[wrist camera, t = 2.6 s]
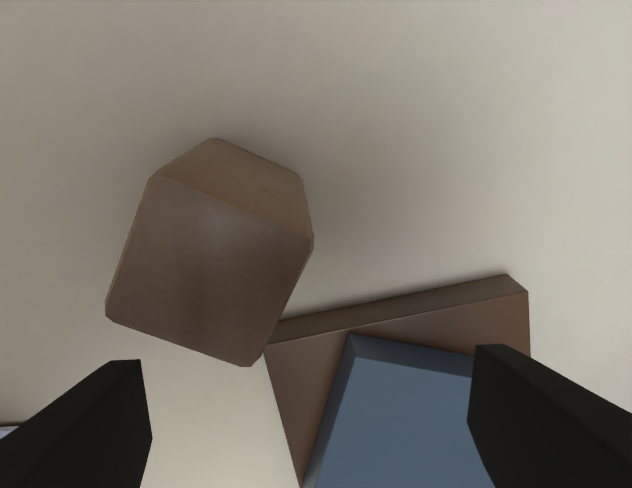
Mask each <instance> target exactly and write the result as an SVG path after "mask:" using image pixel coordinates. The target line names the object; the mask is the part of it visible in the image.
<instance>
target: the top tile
mask: <svg viewBox="0 0 632 488" xmlns="http://www.w3.org/2000/svg"><path fill="white" fill-rule="evenodd" d="M473 364H474V356H470V355H465V354H460V353H454V352H449V351H444V350H438V349H433V348H428V347H423V346H417V345H412V344H407V343H402V342H396V341H391V340H386V339H380V338H375V337H370V336H365V335H359V334H354V333H349V334H348V337H347V340H346V343H345V347H344V350H343V353H342V356H341V360H340V363H339V366H338V370H337V373H336V376H335V379H334V383H333V386H332V389H331V393H330V396H329V399H328V402H327V406H326V409H325V412H324V416H323V419H322V422H321V425H320V429H319V432H318V435H317V438H316V442H315V445H314V448H313V452H312V455H311V458H310V461H309V465H308V468H307V471H306V475H305V478H304V481H303V488H495V486H494V484H493V483H492V481H491V479H490V477H489V475H488V473H487V471H486V469H485V467H484V465H483V463H482V461H481V458H480V456H479V453H478V451H477V448H476V446H475V443H474V441H473V438H472V435H471V433H470V430H469V427H468V425H467V422H466V421H467V412H468V404H469V396H470V388H471V380H472V372H473Z"/></svg>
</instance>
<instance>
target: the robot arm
mask: <svg viewBox="0 0 632 488" xmlns="http://www.w3.org/2000/svg"><path fill="white" fill-rule="evenodd" d="M466 422H467V425H468V427H469V430H470V433H471V435H472V438H473V441H474V443H475V446H476V448H477V451H478V453H479V456H480V458H481V461H482V463H483V465H484V467H485V469H486V471H487V473H488V475H489V477H490V479H491V481H492V483H493V484H494V486H495V488H632V413H630V412H628V411H626V410H624V409H622V408H620V407H618V406H617V405H615V404H613V403H611V402H609V401H607V400H605V399H603V398H602V397H600V396H598V395H596V394H594V393H593V392H591V391H589V390H587V389H585V388H584V387H582V386H580V385H578V384H576V383H575V382H573V381H571V380H569V379H568V378H566V377H564V376H562V375H561V374H559V373H557V372H555V371H554V370H552V369H550V368H548V367H547V366H545V365H543V364H541V363H539V362H538V361H536V360H534V359H532V358H531V357H529V356H527V355H525V354H523V353H521V352H519V351H518V350H516V349H514V348H512V347H509V346H507V345H505V344H481V345H476V348H475V356H474V364H473V372H472V380H471V388H470V396H469V404H468V412H467V421H466ZM152 439H153V438H152V432H151V426H150V419H149V413H148V406H147V400H146V393H145V387H144V381H143V374H142V368H141V361H140V359H136V360H113V361H109V362H108V363H106V364H104V365H103V366H101V367H100V368H98V369H97V370H96V371H94V372H93V373H91V374H90V375H89V376H87V377H86V378H84V379H83V380H82V381H80V382H79V383H78V384H76V385H75V386H74V387H72V388H71V389H70V390H68V391H67V392H66V393H64V394H63V395H62V396H60V397H59V398H57V399H56V400H55V401H53V402H52V403H51V404H49V405H48V406H46V407H45V408H44V409H42V410H41V411H40V412H38V413H37V414H36V415H34V416H33V417H31V418H30V419H29V420H27V421H26V422H24V423H23V424H22V425H20V426H9V427H0V488H140V485H141V481H142V478H143V474H144V470H145V467H146V463H147V459H148V455H149V451H150V447H151V443H152Z"/></svg>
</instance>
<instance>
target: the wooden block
mask: <svg viewBox="0 0 632 488" xmlns="http://www.w3.org/2000/svg"><path fill="white" fill-rule="evenodd" d="M313 246H314V234H313V229H312V224H311V220H310V215H309V210H308V205H307V200H306V195H305V190H304V185H303V180H302V179H301V178H300V177H299V176H298V175H297V174H295V173H293V172H291V171H289V170H287V169H284V168H282V167H280V166H278V165H276V164H273V163H271V162H269V161H267V160H264V159H262V158H260V157H258V156H256V155H253V154H251V153H249V152H247V151H245V150H242V149H240V148H238V147H236V146H233V145H231V144H229V143H227V142H225V141H222V140H220V139H212V138H210V139H208V140H207V141H205V142H203V143H202V144H200V145H198V146H197V147H195V148H193V149H192V150H190V151H188V152H187V153H185V154H183V155H182V156H180V157H178V158H177V159H175V160H173V161H172V162H170V163H168V164H167V165H165V166H164V167H162V168H160V169H159V170H157V171H156V172H155V173H154V174H153V175H152V176H151V177H150V178H149V179H148V182H147V185H146V188H145V190H144V193H143V196H142V199H141V202H140V204H139V207H138V210H137V213H136V216H135V218H134V221H133V224H132V227H131V230H130V232H129V235H128V238H127V241H126V244H125V247H124V249H123V252H122V255H121V258H120V261H119V263H118V266H117V269H116V272H115V275H114V277H113V280H112V283H111V286H110V289H109V291H108V294H107V297H106V300H105V312H106V317H108V318H109V319H110V320H111V321H113V322H114V323H117V324H120V325H123V326H126V327H129V328H132V329H134V330H137V331H140V332H143V333H146V334H149V335H151V336H154V337H157V338H160V339H163V340H166V341H169V342H171V343H174V344H177V345H180V346H183V347H186V348H189V349H191V350H194V351H197V352H200V353H203V354H206V355H209V356H211V357H214V358H217V359H220V360H223V361H226V362H228V363H231V364H234V365H237V366H240V367H251V366H252V365H253V364H254V363H255V362H256V361H257V360H258V359H259V358H260V357H261V355H262V353H263V351H264V349H265V347H266V345H267V343H268V341H269V339H270V337H271V335H272V333H273V331H274V328H275V326H276V324H277V322H278V320H279V318H280V316H281V314H282V312H283V310H284V308H285V306H286V304H287V302H288V300H289V298H290V296H291V294H292V292H293V289H294V287H295V285H296V283H297V281H298V279H299V277H300V275H301V273H302V271H303V269H304V267H305V265H306V263H307V261H308V259H309V257H310V255H311V253H312V250H313Z"/></svg>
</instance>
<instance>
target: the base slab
mask: <svg viewBox="0 0 632 488" xmlns="http://www.w3.org/2000/svg"><path fill="white" fill-rule="evenodd" d="M349 333H354V334H359V335H365V336H370V337H375V338H380V339H386V340H391V341H396V342H402V343H407V344H412V345H417V346H423V347H428V348H433V349H438V350H444V351H449V352H454V353H460V354H465V355H470V356H475V348H476V345H481V344H505V345H507V346H509V347H512V348H514V349H516V350H518V351H519V352H521V353H523V354H525V355H527V356H529V357H531V353H530V327H529V301H528V291H527V290H526V289H525V288H524V287H522V286H521V285H520V284H519V283H518V282H516V281H515V280H514V279H513V278H511V277H510V276H509V275H502V276H497V277H492V278H487V279H482V280H477V281H473V282H468V283H463V284H458V285H453V286H448V287H443V288H439V289H434V290H429V291H424V292H419V293H414V294H409V295H404V296H400V297H395V298H390V299H385V300H380V301H375V302H370V303H365V304H361V305H356V306H351V307H346V308H341V309H336V310H331V311H326V312H322V313H317V314H312V315H307V316H302V317H297V318H292V319H288V320H283V321H278V322H277V324H276V326H275V328H274V331H273V333H272V335H271V337H270V339H269V341H268V343H267V345H266V347H265V349H264V351H263V354H264V358H265V361H266V365H267V369H268V372H269V376H270V380H271V383H272V387H273V391H274V394H275V398H276V402H277V406H278V409H279V413H280V417H281V420H282V424H283V428H284V431H285V435H286V439H287V443H288V446H289V450H290V454H291V457H292V461H293V465H294V468H295V472H296V476H297V480H298V483H299V487H300V488H303V481H304V478H305V475H306V471H307V468H308V465H309V461H310V458H311V455H312V452H313V448H314V445H315V442H316V438H317V435H318V432H319V429H320V425H321V422H322V419H323V416H324V412H325V409H326V406H327V402H328V399H329V396H330V393H331V389H332V386H333V383H334V379H335V376H336V373H337V370H338V366H339V363H340V360H341V356H342V353H343V350H344V347H345V343H346V340H347V337H348V334H349Z"/></svg>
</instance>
